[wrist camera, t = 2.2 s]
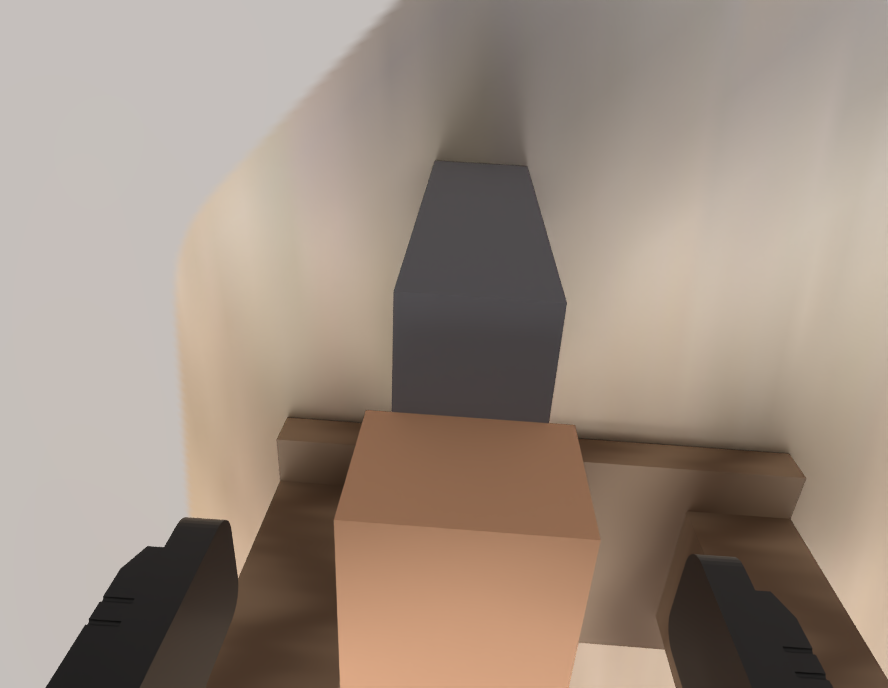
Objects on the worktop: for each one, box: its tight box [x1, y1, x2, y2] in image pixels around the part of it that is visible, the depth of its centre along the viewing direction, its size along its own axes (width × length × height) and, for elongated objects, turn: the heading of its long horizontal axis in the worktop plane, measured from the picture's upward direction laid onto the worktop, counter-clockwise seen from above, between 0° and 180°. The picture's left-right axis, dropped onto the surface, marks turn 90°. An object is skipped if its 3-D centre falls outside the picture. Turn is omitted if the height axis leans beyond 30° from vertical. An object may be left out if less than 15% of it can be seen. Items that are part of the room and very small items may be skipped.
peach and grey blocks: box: [334, 161, 601, 688], centre depth 17 cm, size 4×9×14 cm, turn 177°
